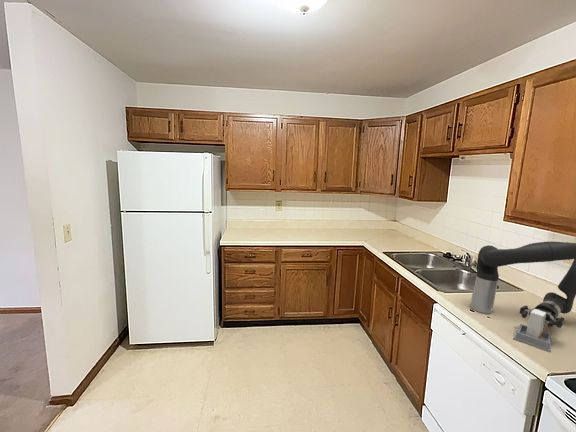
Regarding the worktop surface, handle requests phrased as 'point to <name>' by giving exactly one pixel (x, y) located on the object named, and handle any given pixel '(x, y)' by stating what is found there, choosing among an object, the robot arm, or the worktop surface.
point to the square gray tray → (534, 339)
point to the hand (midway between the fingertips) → (536, 320)
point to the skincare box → (536, 323)
